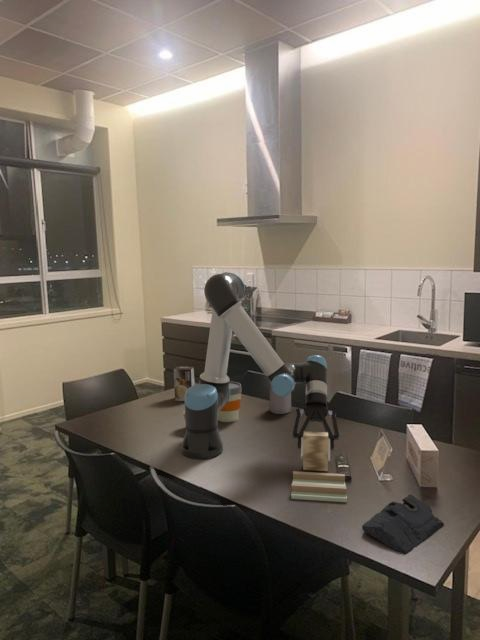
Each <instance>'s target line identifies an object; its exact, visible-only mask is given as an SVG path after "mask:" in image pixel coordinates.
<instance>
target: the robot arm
mask: <svg viewBox="0 0 480 640" xmlns="http://www.w3.org/2000/svg"><path fill="white" fill-rule="evenodd" d="M205 282H206V283H205V285H204V288H203V289H204V290H203V291H204V292H203V293H204V297H205V299H206V301H207V303H208V308H209V309H210V310H211V319H210V325H209V326H210V327H209V334H208V341H207V349H206V356H205V357H206V358H205V363H204V364H205V366H204V371H203V372H202V373H201V374H200V375H199V381H198V384H195V386H192V387H190V388H188V389H187V391H186V392H185V400H184V401H183V402H184V411H185V418H184V420H185V419H186V421H185V433H184V436H183V440H182V442H181V453H182V455H184V457H187V458H191V459H198V460H199V459H200V460H201V459H203V460H204V459H205V460H206V459H211V458H214V457H216V456H217V457H218V456H219V455H221V454H222V453H223V450H224V444H223V443H224V442H223V440H222V437H221V434H220V431H219V427H218V426H219V425H218V424H219V420H218V412H219V411H220V410H221V409H222V408H223V407H224V406H225V405H226V403H227V402H228V400H229V397H230V387H229V381H230V377H229V376H228V375H227V373H228V367H229V360H230V359H229V358H230V357H229V356H230V351H231V345H232V337H233V333H234V335H235V336H236V337H237V339H238V340H239V341H240V343H241V344H242V345H243V347H244V348H245V350H246V351H247V352H248V354H249V355H250V356H251V358H252V359H253V360H254V362H255V363H256V364H257V365H258V367H259V368H260V370H261V371H262V372H263V373H264V375H265V377H267V379H268V380H269V383H270V382H271V387H272V390H273V392H274V393H275V394H277V395H279V396H287V395H289V394H290V393H291V394H292V392H293V391H294V390H295V387H296V385H297V384H305V404H304V405H305V406H304V408H303V409H300V408H297V409H296V408H295V409H296V410H295V411H296V418H295V421H294V426H293V431H292V438H294V439H297V449H300V460H303V434H304V431H307V429H308V427H309V426H310V424H311V423H312V422H314V423H315V422H318V423H321V425H322V426H323V429H324V432H328V462H330V461H331V451H334V449H335V445H334V444H335V441H338V440H339V439H340V431H339V428H338V424H337V419H336V416H337V410H335V409H333V410H329V408H328V397H327V396H328V367H327V365H328V364H327V360H326V359H325V358H324V357H323V356H322V355H316V354H315V355H311V356H308V357H307V358H306V361H305V362H287V363H286V362H283V360H282V358H281V357H280V356H279V355H278V353H277V352H276V351H275V349H274V348H273V347H272V345H271V344H270V343H269V341H268V340H267V338H265V335H263V333H262V332H261V331H260V329H259V328H258V327H257V325H256V324H255V322H254V321H253V319H252V318H251V317H250V316H249V315H248V313H247V312H246V310H245V309H244V308H243V306H242V303H243V302H242V298H243V297H244V295H245V291H246V286H245V282H244V281H243V279H242V278H241V277H240V276H239V275H238V274H236V273H234V272H223V273H217V274H213V275H212V276H210V277H209V278H208V279H207V281H205ZM230 382H231V381H230ZM303 414H304V415H305V416H306V418H305V421H304V422H303V424H302V427H301V429H300V431H299V426H300V422H301V417H303ZM328 415H329V418H330V419H331V424H332V429H333V432H332V431H331V428H330V426H329V424H328V421H327V419H326V417H327V416H328ZM298 431H299V433H298ZM333 433H334V435H333Z"/></svg>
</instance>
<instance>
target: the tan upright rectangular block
mask: <svg viewBox="0 0 480 640" xmlns="http://www.w3.org/2000/svg"><path fill="white" fill-rule="evenodd" d="M328 439H329V437H328V432H326V431H309V430H308V431H307V430H306V431H304V434H303V459H302V466H303V468H302V470H303V471H316V472H317V471H318V472H328V471H329V470H328V469H329V468H328V467H329V463H328V462H329V461H328Z"/></svg>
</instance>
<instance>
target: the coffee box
mask: <svg viewBox="0 0 480 640" xmlns="http://www.w3.org/2000/svg"><path fill="white" fill-rule="evenodd" d="M195 382H196V381H195V367H194V366H186V365H185V366H184V365H183V366H178V365H177V366H175V367H174V368H173V387H174V401H175V402H184V400H185V392H186V391H187V389H188V388H190V387H192V386H195V385H196V384H195Z"/></svg>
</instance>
